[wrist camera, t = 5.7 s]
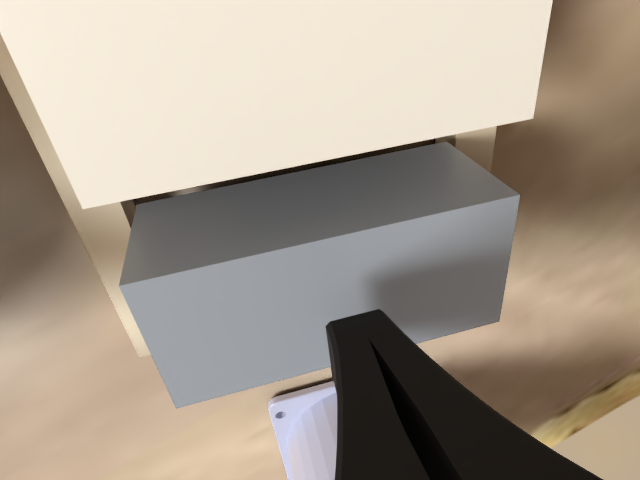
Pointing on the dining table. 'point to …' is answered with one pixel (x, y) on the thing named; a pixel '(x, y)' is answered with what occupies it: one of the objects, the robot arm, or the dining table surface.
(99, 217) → the wooden tray
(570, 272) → the dining table surface
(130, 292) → the grey rectangular block
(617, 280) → the dining table surface
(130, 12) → the ivory key
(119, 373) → the dining table surface
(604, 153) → the dining table surface
